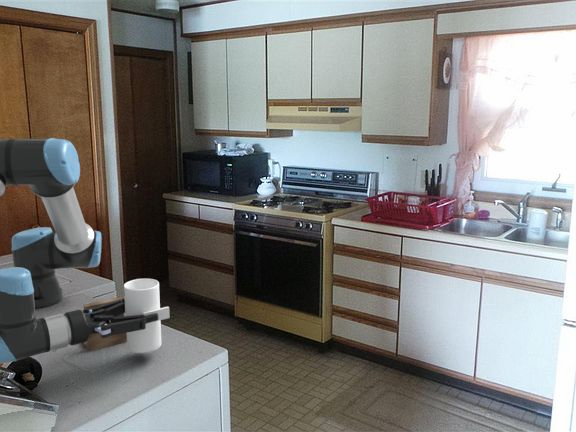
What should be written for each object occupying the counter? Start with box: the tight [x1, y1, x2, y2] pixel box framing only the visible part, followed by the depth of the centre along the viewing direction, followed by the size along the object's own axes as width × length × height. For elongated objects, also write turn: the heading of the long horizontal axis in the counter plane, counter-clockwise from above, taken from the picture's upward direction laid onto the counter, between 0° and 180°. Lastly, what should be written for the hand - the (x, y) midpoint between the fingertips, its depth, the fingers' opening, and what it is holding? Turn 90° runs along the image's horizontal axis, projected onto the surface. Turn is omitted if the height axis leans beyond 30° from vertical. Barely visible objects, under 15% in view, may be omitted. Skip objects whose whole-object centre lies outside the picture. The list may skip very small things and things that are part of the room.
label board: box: [81, 295, 127, 352], centre depth 138 cm, size 16×8×12 cm, turn 128°
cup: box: [123, 278, 162, 354], centre depth 127 cm, size 8×8×16 cm
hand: (160, 306), depth 130 cm, fingers closed on cup, 8 cm apart
